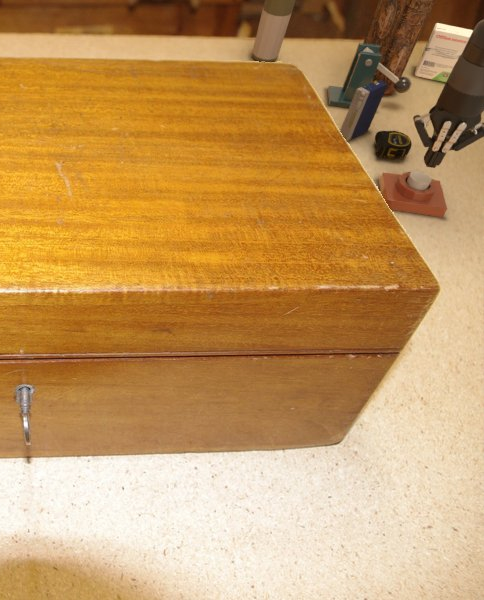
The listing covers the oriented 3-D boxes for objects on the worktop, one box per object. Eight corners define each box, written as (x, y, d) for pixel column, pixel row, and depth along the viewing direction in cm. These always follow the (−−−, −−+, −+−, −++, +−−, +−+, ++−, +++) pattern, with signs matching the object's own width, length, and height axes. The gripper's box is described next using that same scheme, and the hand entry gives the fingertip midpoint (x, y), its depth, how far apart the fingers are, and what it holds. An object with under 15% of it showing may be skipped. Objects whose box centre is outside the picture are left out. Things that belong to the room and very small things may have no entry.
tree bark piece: (395, 96, 166) (442, -10, 147) (372, 94, 166) (416, -12, 148) (378, 61, 177) (420, -41, 159) (356, 60, 177) (395, -43, 159)
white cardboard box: (452, 75, 173) (475, 29, 164) (450, 84, 170) (474, 38, 161) (415, 66, 175) (436, 21, 167) (413, 76, 172) (434, 30, 164)
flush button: (426, 179, 138) (430, 172, 137) (429, 192, 135) (433, 184, 134) (405, 176, 139) (408, 169, 137) (407, 188, 136) (411, 181, 135)
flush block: (435, 189, 142) (444, 173, 139) (442, 217, 136) (451, 201, 133) (378, 180, 143) (386, 164, 140) (383, 208, 137) (391, 192, 134)
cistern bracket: (371, 95, 166) (392, 44, 156) (373, 111, 161) (396, 59, 152) (327, 89, 167) (346, 38, 158) (328, 105, 163) (348, 53, 153)
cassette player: (359, 127, 157) (379, 78, 148) (367, 132, 155) (388, 83, 147) (336, 136, 154) (356, 87, 145) (345, 142, 153) (365, 92, 144)
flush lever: (399, 91, 162) (413, 79, 159) (401, 99, 159) (415, 87, 157) (355, 55, 158) (369, 43, 156) (356, 62, 156) (370, 50, 153)
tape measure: (371, 141, 153) (378, 126, 150) (405, 146, 152) (412, 132, 149) (373, 159, 148) (379, 144, 146) (407, 165, 147) (414, 150, 144)
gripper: (508, 76, 122) (462, 158, 135) (428, 67, 124) (390, 149, 137) (518, 98, 117) (470, 181, 130) (434, 89, 119) (395, 171, 132)
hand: (429, 164), depth 133 cm, fingers closed
